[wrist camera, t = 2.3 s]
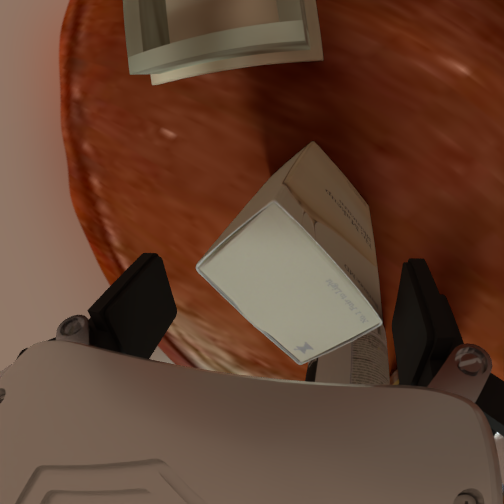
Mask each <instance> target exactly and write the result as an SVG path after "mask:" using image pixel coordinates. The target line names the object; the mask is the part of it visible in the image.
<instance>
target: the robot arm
mask: <svg viewBox="0 0 504 504" xmlns="http://www.w3.org/2000/svg"><path fill="white" fill-rule="evenodd" d="M88 312H89V314H90V316H91V318H90V319H89V320H88V318H87V317H86V316H84V315H74V316H71V317H69V318H67V319H65V320H64V321H63V322H62V323H61V324H60V325H59V327H58V329H57V333H56V338H53V339H50V340H48V341H44V342H40V343H36V344H34V345H32V346H30V347H29V348H26V349H24V350H22V351H21V353H20V354H19V356H18V357H17V359H16V361H15V362H14V363H13V364H11V365H10V366H8V367H7V368H5V369H4V370H2V371H0V504H504V381H502V380H501V379H499V378H498V377H496V376H495V375H493V374H492V373H490V372H491V369H492V360H491V358H490V356H489V354H488V353H487V352H486V351H485V350H484V349H483V348H481V347H480V346H477V345H474V344H468V343H467V344H464V343H463V340H462V337H461V334H460V332H459V329H458V326H457V324H456V321H455V318H454V316H453V313H452V311H451V308H450V306H449V303H448V301H447V298H446V297H445V295H443V294H442V295H440V294H439V291H438V289H437V286H436V284H435V282H434V279H433V277H432V275H431V272H430V270H429V268H428V266H427V263H426V261H425V260H424V259H409V260H408V262H404V263H403V267H402V273H401V279H400V285H399V291H398V296H397V301H396V306H395V311H394V316H393V320H392V332H393V339H394V345H395V353H396V360H397V368H398V377H399V385H380V384H344V383H324V382H307V381H294V380H282V379H272V378H262V377H254V376H245V375H237V374H230V373H223V372H216V371H210V370H203V369H197V368H192V367H186V366H180V365H175V364H170V363H165V362H160V361H155V360H150V359H149V358H150V356H151V355H152V353H153V352H154V350H155V348H156V347H157V345H158V344H159V342H160V341H161V339H162V337H163V336H164V334H165V333H166V331H167V329H168V328H169V326H170V325H171V323H172V322H173V320H174V319H175V317H176V314H177V308H176V305H175V301H174V298H173V295H172V292H171V288H170V285H169V281H168V278H167V275H166V271H165V268H164V264H163V260H162V258H161V257H159V256H158V254H156V253H143V254H142V255H141V256H140V257H139V258H138V259H137V260H136V261H135V262H134V263H133V264H132V265H131V266H130V267H129V268H128V269H127V270H126V271H125V272H124V273H123V274H122V275H121V276H120V277H119V278H118V279H117V280H116V281H115V282H114V283H113V284H112V285H111V286H110V287H109V288H108V289H107V290H106V291H105V292H104V294H103V295H102V296H101V297H100V298H99V299H98V300H97V301H96V302H95V303H94V304H93V305H92V306H91V307H90V308H89V310H88ZM502 483H503V493H502Z"/></svg>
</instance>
